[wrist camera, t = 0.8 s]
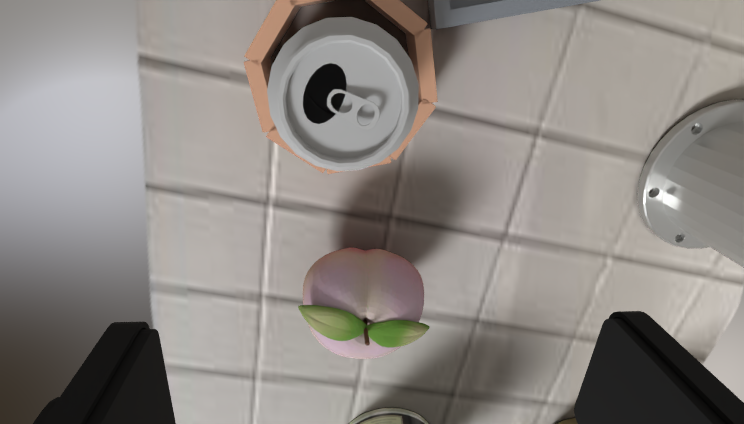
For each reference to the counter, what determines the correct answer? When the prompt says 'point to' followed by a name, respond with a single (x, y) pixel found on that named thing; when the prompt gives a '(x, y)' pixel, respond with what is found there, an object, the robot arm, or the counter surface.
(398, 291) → the decorative fruit
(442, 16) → the slate tray
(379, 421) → the coffee can
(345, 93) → the can
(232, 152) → the counter surface
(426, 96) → the terracotta ring
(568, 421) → the squeeze bottle
